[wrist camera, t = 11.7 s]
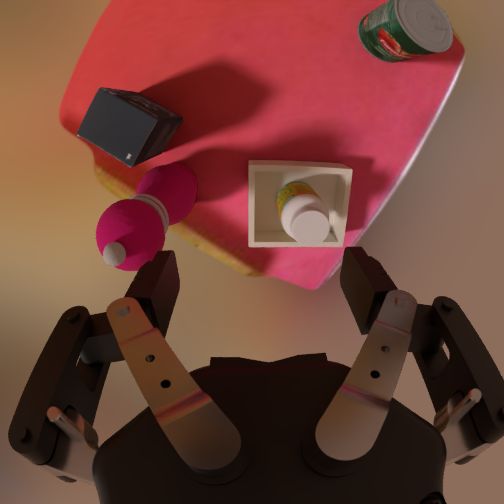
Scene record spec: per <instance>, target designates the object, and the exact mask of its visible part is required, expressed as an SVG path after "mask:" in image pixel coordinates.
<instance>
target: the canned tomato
mask: <svg viewBox="0 0 504 504" xmlns="http://www.w3.org/2000/svg"><path fill="white" fill-rule="evenodd" d="M357 30H358V37H359V39H360V42H361V44H362V45H363V47H364V48H365V49H366V50H367V51H368V52H369V53H370V54H371V55H372V56H373V57H375V58H377V59H379V60H381V61H384V62H391V63H392V62H397V61H400V60H405V59H409V58H413V57H418V56H423V55H428V54H433V53H440V52H444V51H447V50H448V49H449V48H450V47H451V45H452V42H453V29H452V26H451V23H450V21H449V19H448V17H447V15H446V14H445V12H444V11H443V10H442V8H441V7H440V6H439V5H438V4H437V3H436V2H435V1H434V0H389V1H387V2H386V3H384V4H382V5H381V6H379V7H378V8H376V9H375V10H373V11H372V12H370V13H369V14H368V15H366V16H364V17H363V18H362V19H361V20H360V22H359V24H358V28H357Z"/></svg>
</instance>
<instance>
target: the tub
mask: <svg viewBox="0 0 504 504" xmlns="http://www.w3.org/2000/svg"><path fill="white" fill-rule="evenodd" d="M352 170H353V169H351V168H349V167H348V166H346V165H344V164H342V163H330V162H313V161H291V160H248V187H249V247H343V241H344V235H345V228H346V221H347V214H348V206H349V198H350V190H351V180H352ZM292 181H302V182H305V183H307V184H308V185H310V186H311V187H312V188H313V189H314V191H315V192H316V193H317V194H318V196H319V197H320V198H321V199H322V201H323V202H324V203H325V205H326V206H327V209H328V212H329V223H330V231H329V234H328V236H327V237H326V239H325V240H324V241H323V242H321V243H320V244H318V245H315V246H304V245H301V244H300V243H298V242H297V241H296V240H295V239H294V238H292V237H291V236H289V235H288V234H287V233H286V231H285V230H284V228H283V226H282V223H281V219H280V216H279V212H278V209H277V205H276V197H277V194H278V192H279V190H280V189H281V188H282V187H283V186H284V185H285V184H287V183H289V182H292Z"/></svg>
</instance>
